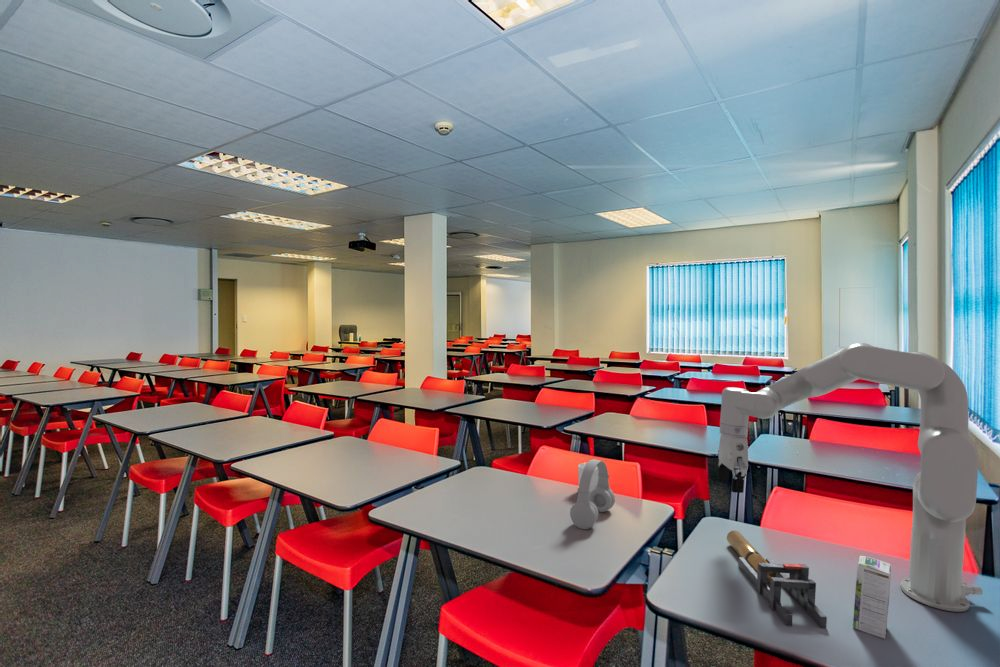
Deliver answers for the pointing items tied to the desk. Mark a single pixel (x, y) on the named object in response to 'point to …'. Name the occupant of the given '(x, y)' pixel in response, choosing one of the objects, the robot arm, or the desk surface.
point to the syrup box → (872, 596)
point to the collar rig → (794, 584)
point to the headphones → (592, 496)
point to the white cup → (593, 480)
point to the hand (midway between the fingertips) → (730, 485)
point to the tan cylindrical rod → (747, 552)
